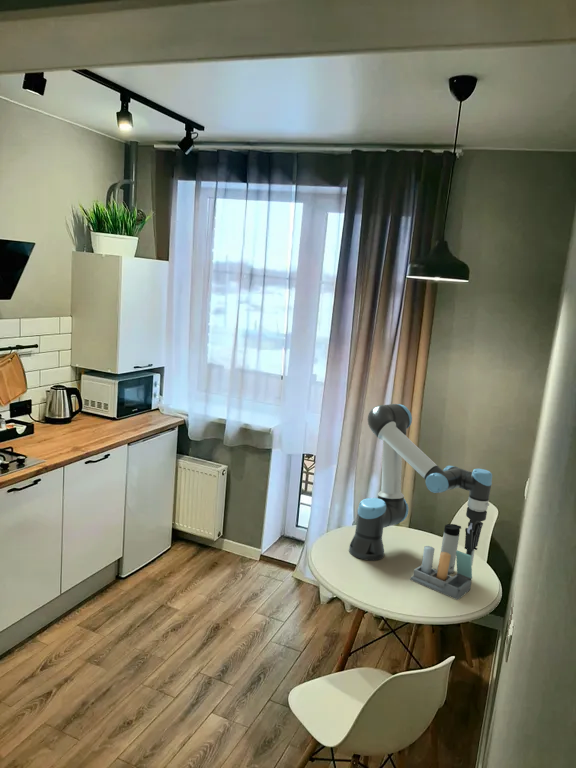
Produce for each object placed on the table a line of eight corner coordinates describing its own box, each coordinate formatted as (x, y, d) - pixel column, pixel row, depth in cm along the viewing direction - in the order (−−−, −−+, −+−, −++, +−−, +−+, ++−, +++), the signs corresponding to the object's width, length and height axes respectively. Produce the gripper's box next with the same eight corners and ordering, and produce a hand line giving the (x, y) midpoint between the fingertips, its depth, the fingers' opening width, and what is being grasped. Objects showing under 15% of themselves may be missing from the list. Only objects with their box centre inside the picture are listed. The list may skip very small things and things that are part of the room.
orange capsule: (433, 582, 226) (438, 553, 224) (438, 578, 229) (443, 550, 227) (443, 586, 223) (448, 557, 222) (447, 582, 227) (452, 554, 225)
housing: (410, 579, 228) (411, 569, 228) (423, 570, 237) (424, 561, 237) (457, 599, 216) (459, 589, 215) (470, 589, 225) (471, 579, 224)
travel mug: (455, 575, 236) (462, 529, 233) (438, 572, 237) (445, 526, 235) (453, 568, 242) (460, 524, 239) (437, 565, 244) (444, 521, 241)
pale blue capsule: (418, 575, 230) (422, 547, 228) (423, 572, 233) (427, 545, 232) (427, 579, 228) (431, 551, 226) (432, 576, 231) (436, 548, 229)
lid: (456, 551, 223) (457, 550, 223) (457, 574, 228) (458, 572, 229) (470, 557, 219) (471, 555, 220) (471, 580, 224) (472, 578, 225)
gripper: (480, 515, 217) (471, 573, 221) (492, 507, 227) (483, 563, 231) (461, 509, 222) (452, 566, 225) (474, 502, 232) (465, 556, 235)
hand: (468, 564), depth 228 cm, fingers closed
